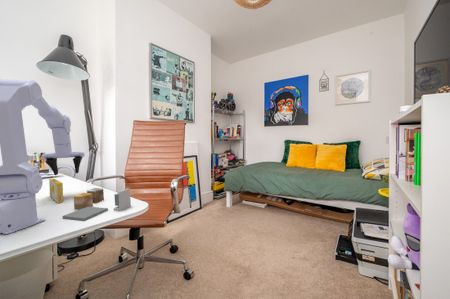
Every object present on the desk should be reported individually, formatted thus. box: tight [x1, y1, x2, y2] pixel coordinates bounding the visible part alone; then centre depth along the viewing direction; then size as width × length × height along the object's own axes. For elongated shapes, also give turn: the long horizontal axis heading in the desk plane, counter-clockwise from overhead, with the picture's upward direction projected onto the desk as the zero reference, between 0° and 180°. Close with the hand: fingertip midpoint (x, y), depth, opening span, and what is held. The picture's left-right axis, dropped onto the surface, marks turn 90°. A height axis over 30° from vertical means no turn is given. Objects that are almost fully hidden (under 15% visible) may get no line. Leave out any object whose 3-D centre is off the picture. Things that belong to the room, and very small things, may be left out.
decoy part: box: [86, 187, 105, 204], centre depth 82 cm, size 4×4×5 cm
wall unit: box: [113, 187, 132, 212], centre depth 73 cm, size 5×3×7 cm, turn 165°
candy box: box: [48, 178, 64, 204], centre depth 86 cm, size 16×2×8 cm, turn 50°
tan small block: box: [73, 192, 94, 211], centre depth 75 cm, size 4×4×5 cm
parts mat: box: [62, 206, 109, 222], centre depth 68 cm, size 9×9×1 cm
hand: (67, 173), depth 90 cm, fingers open, 7 cm apart
